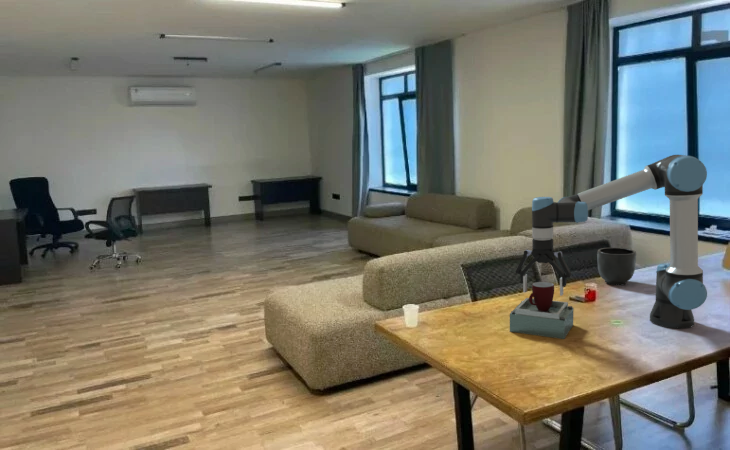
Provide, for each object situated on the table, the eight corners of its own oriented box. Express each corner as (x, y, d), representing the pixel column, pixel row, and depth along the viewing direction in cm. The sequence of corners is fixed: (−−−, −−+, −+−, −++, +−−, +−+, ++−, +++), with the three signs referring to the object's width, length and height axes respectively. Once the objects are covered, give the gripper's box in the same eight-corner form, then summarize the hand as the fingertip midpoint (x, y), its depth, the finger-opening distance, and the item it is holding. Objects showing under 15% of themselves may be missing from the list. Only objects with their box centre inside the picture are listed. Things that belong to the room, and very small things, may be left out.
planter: (592, 278, 286) (593, 247, 284) (628, 278, 284) (629, 247, 281) (601, 287, 269) (602, 254, 267) (640, 287, 267) (641, 254, 265)
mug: (540, 315, 212) (539, 289, 210) (523, 310, 218) (522, 285, 217) (559, 309, 217) (558, 284, 215) (542, 305, 224) (541, 280, 222)
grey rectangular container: (573, 324, 221) (573, 302, 219) (564, 339, 206) (564, 315, 205) (521, 318, 231) (521, 296, 229) (509, 331, 216) (509, 308, 215)
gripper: (579, 237, 210) (579, 293, 213) (512, 235, 222) (513, 287, 226) (575, 241, 203) (575, 298, 207) (506, 238, 216) (507, 292, 219)
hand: (543, 293), depth 216 cm, fingers open, 13 cm apart
